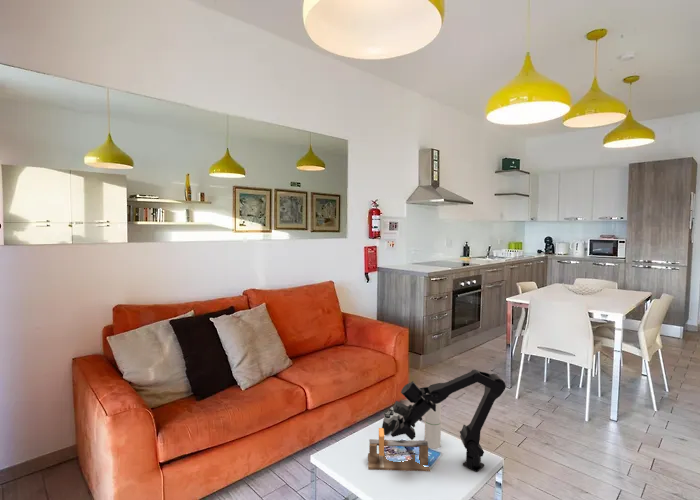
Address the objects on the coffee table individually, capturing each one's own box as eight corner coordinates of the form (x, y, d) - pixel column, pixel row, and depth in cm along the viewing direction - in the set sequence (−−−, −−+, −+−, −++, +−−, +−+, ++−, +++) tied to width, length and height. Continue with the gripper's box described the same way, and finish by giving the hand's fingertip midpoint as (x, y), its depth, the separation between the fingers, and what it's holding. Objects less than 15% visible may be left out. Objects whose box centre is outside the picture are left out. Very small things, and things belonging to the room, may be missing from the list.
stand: (426, 457, 165) (426, 437, 164) (430, 471, 155) (430, 450, 154) (368, 455, 166) (368, 436, 165) (368, 469, 156) (368, 449, 155)
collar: (383, 446, 164) (383, 428, 163) (384, 455, 157) (384, 436, 156) (378, 446, 164) (378, 427, 164) (379, 455, 157) (379, 436, 157)
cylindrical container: (439, 440, 178) (440, 387, 177) (441, 449, 171) (442, 393, 170) (423, 439, 179) (424, 386, 178) (425, 448, 172) (426, 393, 171)
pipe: (426, 445, 161) (426, 439, 161) (427, 448, 158) (427, 442, 158) (369, 443, 162) (369, 437, 162) (369, 447, 159) (369, 441, 159)
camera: (398, 442, 179) (402, 422, 178) (378, 431, 185) (381, 412, 183) (410, 429, 191) (414, 410, 190) (391, 419, 197) (395, 401, 196)
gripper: (402, 387, 168) (377, 411, 169) (407, 406, 150) (378, 433, 151) (420, 405, 168) (395, 429, 169) (427, 426, 150) (399, 453, 151)
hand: (391, 435), depth 160 cm, fingers closed
